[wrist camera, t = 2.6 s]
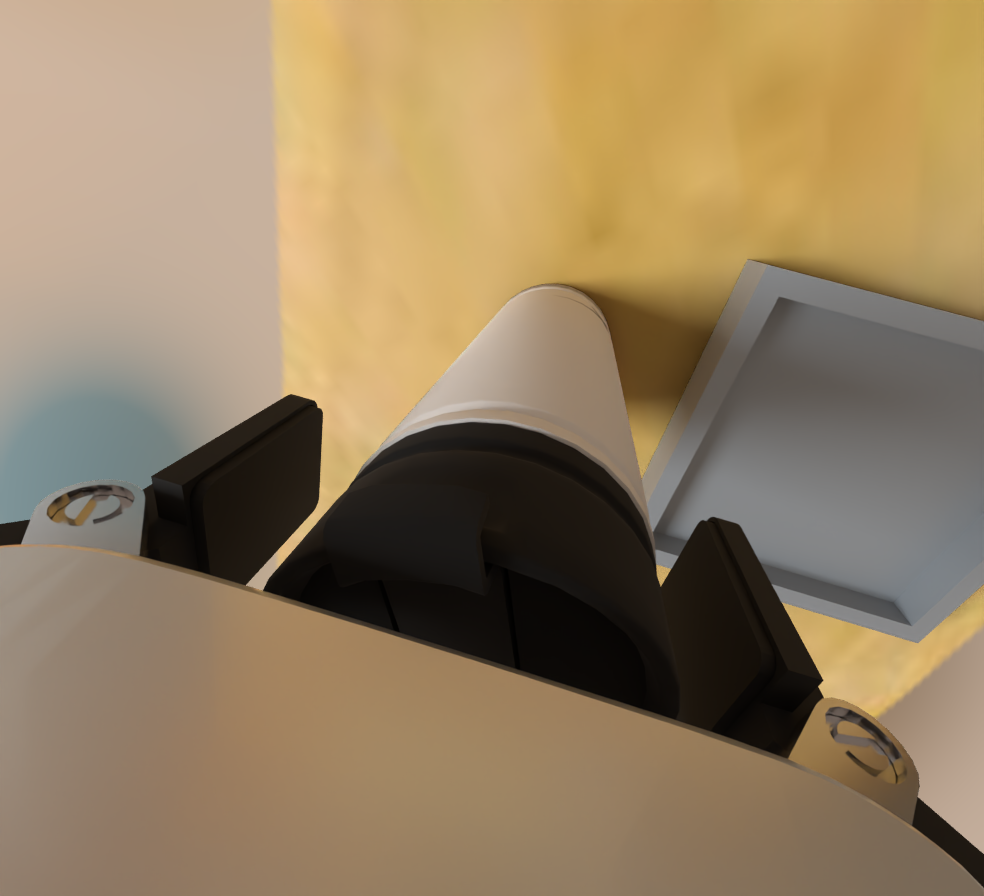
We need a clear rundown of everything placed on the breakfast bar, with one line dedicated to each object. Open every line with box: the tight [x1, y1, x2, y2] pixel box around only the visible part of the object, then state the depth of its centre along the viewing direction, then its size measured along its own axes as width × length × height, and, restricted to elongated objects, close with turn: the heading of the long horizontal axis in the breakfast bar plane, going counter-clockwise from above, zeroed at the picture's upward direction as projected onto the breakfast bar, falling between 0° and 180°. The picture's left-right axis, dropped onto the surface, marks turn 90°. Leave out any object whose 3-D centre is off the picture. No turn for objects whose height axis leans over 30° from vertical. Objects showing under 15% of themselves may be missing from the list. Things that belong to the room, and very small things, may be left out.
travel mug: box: [263, 284, 680, 720], centre depth 15 cm, size 6×7×20 cm
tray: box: [642, 259, 984, 643], centre depth 22 cm, size 16×17×2 cm
